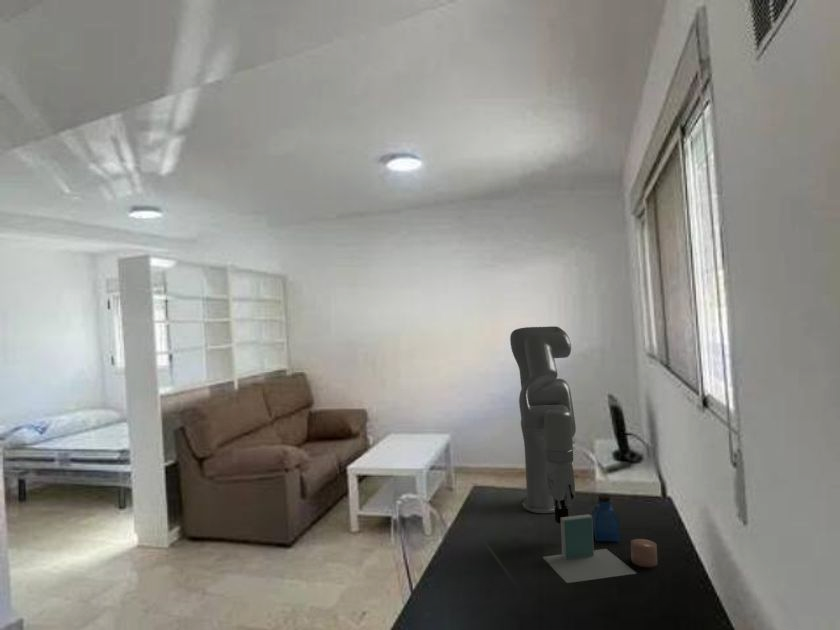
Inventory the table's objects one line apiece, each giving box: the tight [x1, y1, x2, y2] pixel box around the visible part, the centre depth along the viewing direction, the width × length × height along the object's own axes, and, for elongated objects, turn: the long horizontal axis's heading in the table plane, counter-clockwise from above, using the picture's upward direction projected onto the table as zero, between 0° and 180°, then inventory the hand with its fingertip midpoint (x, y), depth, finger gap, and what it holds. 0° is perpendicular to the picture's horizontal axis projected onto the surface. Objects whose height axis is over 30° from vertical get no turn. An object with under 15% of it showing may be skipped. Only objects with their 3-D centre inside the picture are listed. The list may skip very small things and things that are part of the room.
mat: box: [542, 548, 638, 584], centre depth 130 cm, size 14×18×1 cm
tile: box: [560, 513, 595, 559], centre depth 135 cm, size 2×8×10 cm, turn 100°
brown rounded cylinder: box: [630, 538, 658, 568], centre depth 131 cm, size 6×6×5 cm
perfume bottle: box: [591, 493, 620, 543], centre depth 147 cm, size 6×6×12 cm
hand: (561, 521), depth 144 cm, fingers closed
